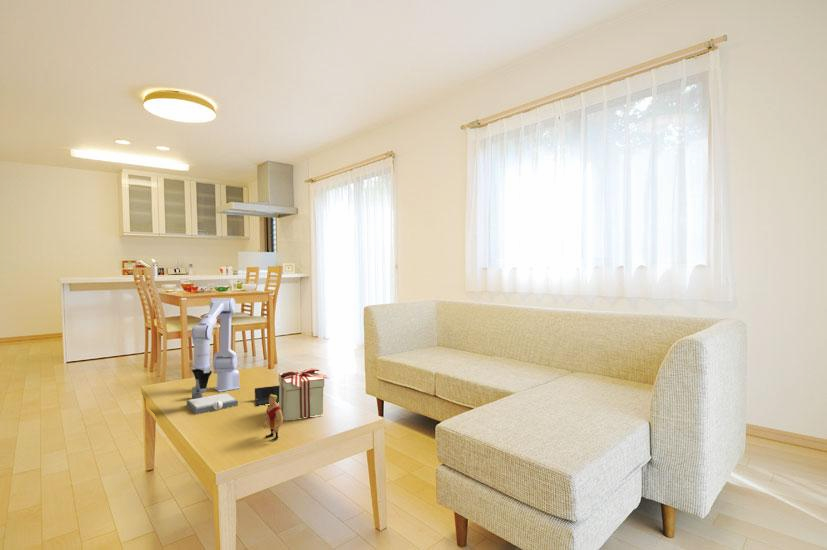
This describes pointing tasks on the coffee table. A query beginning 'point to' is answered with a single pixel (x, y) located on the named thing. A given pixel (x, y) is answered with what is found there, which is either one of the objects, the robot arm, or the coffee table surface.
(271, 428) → the action figure
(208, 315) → the robot arm
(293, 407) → the gift box
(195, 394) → the cylinder
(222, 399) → the white grey-edged panel
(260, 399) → the handheld gaming console
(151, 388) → the coffee table surface
